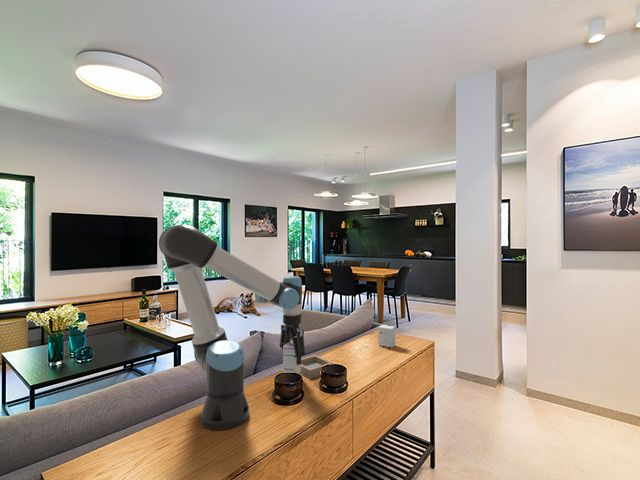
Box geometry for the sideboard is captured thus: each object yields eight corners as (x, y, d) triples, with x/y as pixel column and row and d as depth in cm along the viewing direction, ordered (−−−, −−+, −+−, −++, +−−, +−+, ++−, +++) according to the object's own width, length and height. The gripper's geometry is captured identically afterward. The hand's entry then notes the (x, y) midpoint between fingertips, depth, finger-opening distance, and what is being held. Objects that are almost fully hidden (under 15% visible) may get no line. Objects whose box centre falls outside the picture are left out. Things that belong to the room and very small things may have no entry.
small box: (395, 345, 178) (395, 326, 178) (392, 348, 173) (392, 328, 173) (381, 343, 182) (381, 324, 182) (378, 346, 177) (378, 326, 177)
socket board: (309, 378, 136) (309, 371, 136) (290, 368, 147) (290, 361, 147) (334, 370, 144) (334, 363, 144) (315, 360, 155) (315, 354, 155)
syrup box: (296, 382, 131) (297, 346, 131) (282, 381, 133) (283, 345, 133) (300, 376, 137) (300, 342, 137) (286, 375, 138) (287, 341, 138)
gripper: (314, 317, 129) (313, 374, 129) (286, 308, 145) (285, 359, 145) (298, 319, 124) (298, 379, 124) (271, 310, 140) (271, 363, 140)
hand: (291, 368), depth 135 cm, fingers closed on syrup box, 8 cm apart
